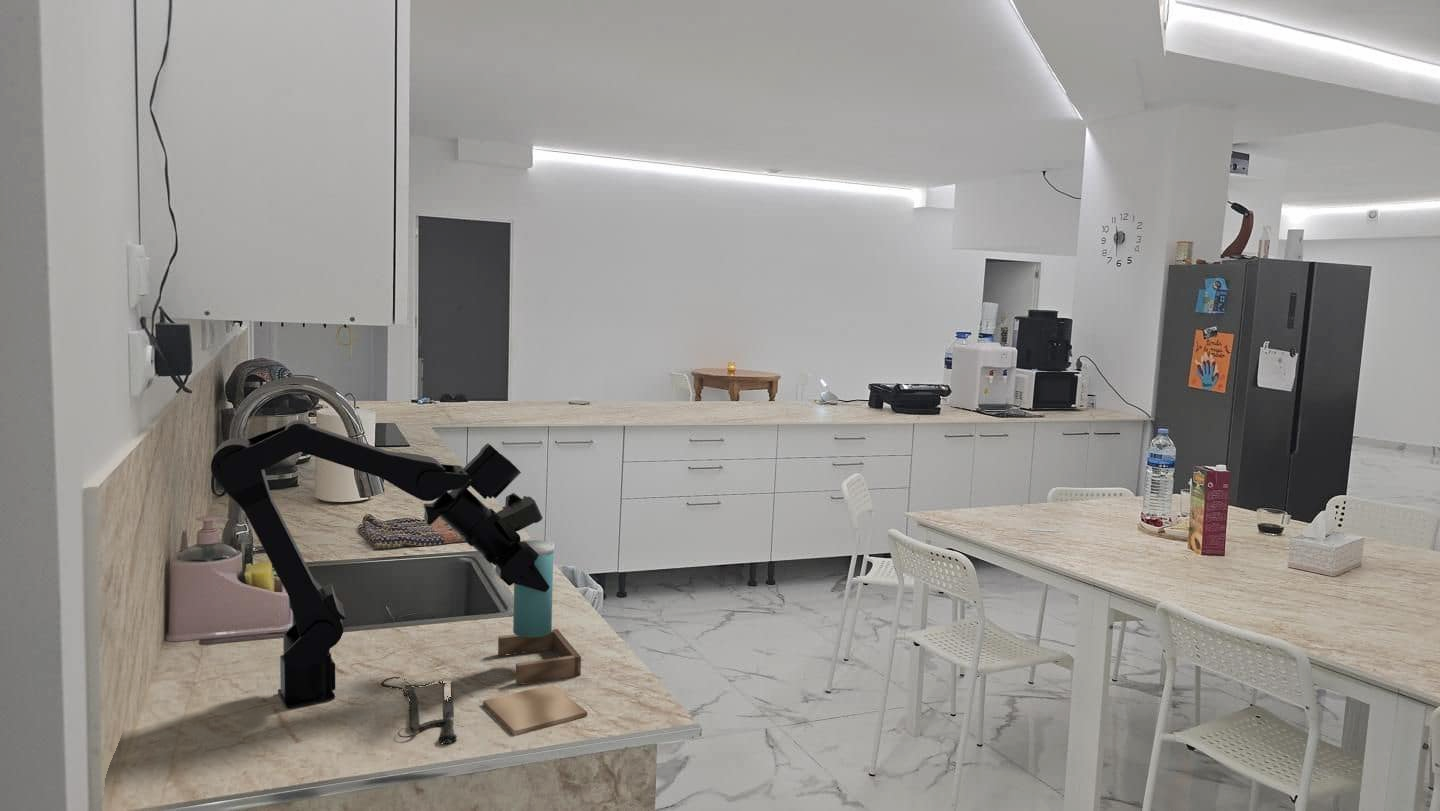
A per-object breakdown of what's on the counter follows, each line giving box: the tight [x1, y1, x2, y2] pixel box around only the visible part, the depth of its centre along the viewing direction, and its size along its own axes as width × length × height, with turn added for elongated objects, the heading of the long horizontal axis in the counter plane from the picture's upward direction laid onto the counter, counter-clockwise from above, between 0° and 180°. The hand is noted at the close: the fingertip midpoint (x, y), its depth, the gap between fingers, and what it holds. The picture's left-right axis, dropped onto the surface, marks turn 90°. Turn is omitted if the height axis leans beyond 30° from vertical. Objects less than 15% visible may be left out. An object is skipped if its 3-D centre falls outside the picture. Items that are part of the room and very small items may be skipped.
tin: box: [512, 539, 555, 638], centre depth 145 cm, size 6×6×14 cm
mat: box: [482, 684, 588, 736], centre depth 131 cm, size 11×11×1 cm
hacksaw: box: [380, 676, 457, 745], centre depth 130 cm, size 24×10×2 cm, turn 18°
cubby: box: [497, 628, 582, 685], centre depth 147 cm, size 10×13×3 cm
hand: (542, 583), depth 146 cm, fingers closed on tin, 6 cm apart
